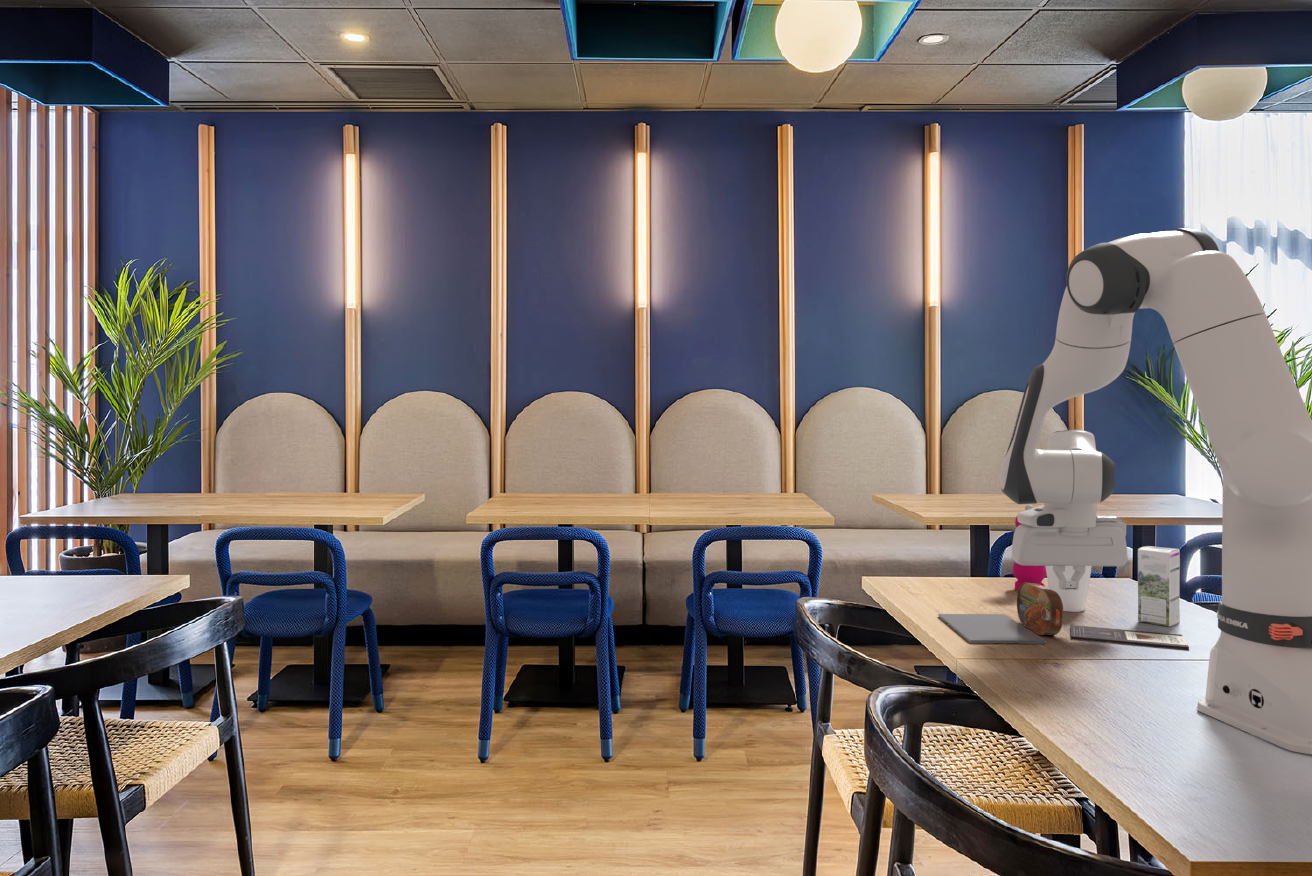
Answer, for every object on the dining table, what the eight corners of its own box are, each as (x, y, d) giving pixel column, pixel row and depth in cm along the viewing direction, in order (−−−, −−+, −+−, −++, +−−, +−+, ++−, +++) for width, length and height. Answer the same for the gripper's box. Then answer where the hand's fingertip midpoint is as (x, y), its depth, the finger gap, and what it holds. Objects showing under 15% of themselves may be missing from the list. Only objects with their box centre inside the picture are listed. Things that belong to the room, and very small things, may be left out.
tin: (1015, 620, 163) (1015, 578, 163) (1031, 620, 163) (1031, 578, 162) (1048, 640, 148) (1048, 594, 148) (1066, 640, 148) (1066, 594, 147)
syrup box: (1180, 622, 159) (1180, 548, 159) (1169, 627, 156) (1169, 551, 155) (1148, 617, 164) (1148, 544, 163) (1136, 622, 160) (1136, 548, 160)
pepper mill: (1006, 588, 193) (1005, 503, 193) (1033, 586, 195) (1033, 502, 194) (1025, 594, 186) (1024, 506, 186) (1053, 592, 187) (1053, 505, 187)
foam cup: (1098, 614, 167) (1098, 550, 166) (1048, 612, 169) (1048, 549, 169) (1086, 604, 176) (1086, 543, 175) (1039, 602, 178) (1039, 542, 178)
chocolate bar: (1070, 625, 156) (1181, 634, 149) (1070, 630, 156) (1181, 639, 149) (1071, 636, 148) (1188, 647, 140) (1071, 641, 148) (1188, 652, 140)
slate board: (1045, 644, 145) (1045, 640, 145) (970, 643, 146) (970, 640, 146) (1004, 617, 165) (1004, 614, 165) (938, 616, 166) (938, 614, 166)
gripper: (1117, 514, 157) (1116, 586, 158) (1009, 513, 158) (1007, 585, 158) (1135, 518, 151) (1133, 593, 151) (1022, 517, 152) (1021, 592, 152)
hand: (1068, 589), depth 155 cm, fingers closed
